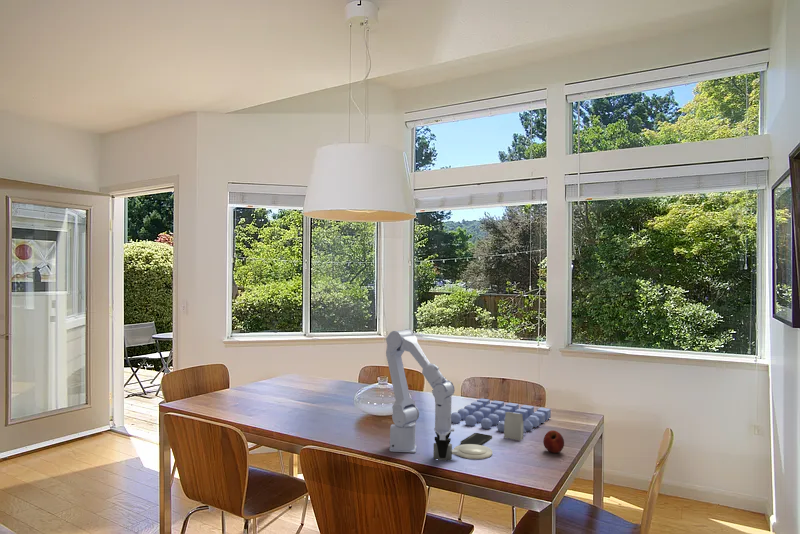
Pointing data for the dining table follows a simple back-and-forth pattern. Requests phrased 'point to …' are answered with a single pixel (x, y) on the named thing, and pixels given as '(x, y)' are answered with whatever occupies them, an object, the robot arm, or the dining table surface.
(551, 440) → the apple
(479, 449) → the plate
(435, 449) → the connector
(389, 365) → the robot arm
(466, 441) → the phone
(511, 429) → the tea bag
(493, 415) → the blocks
